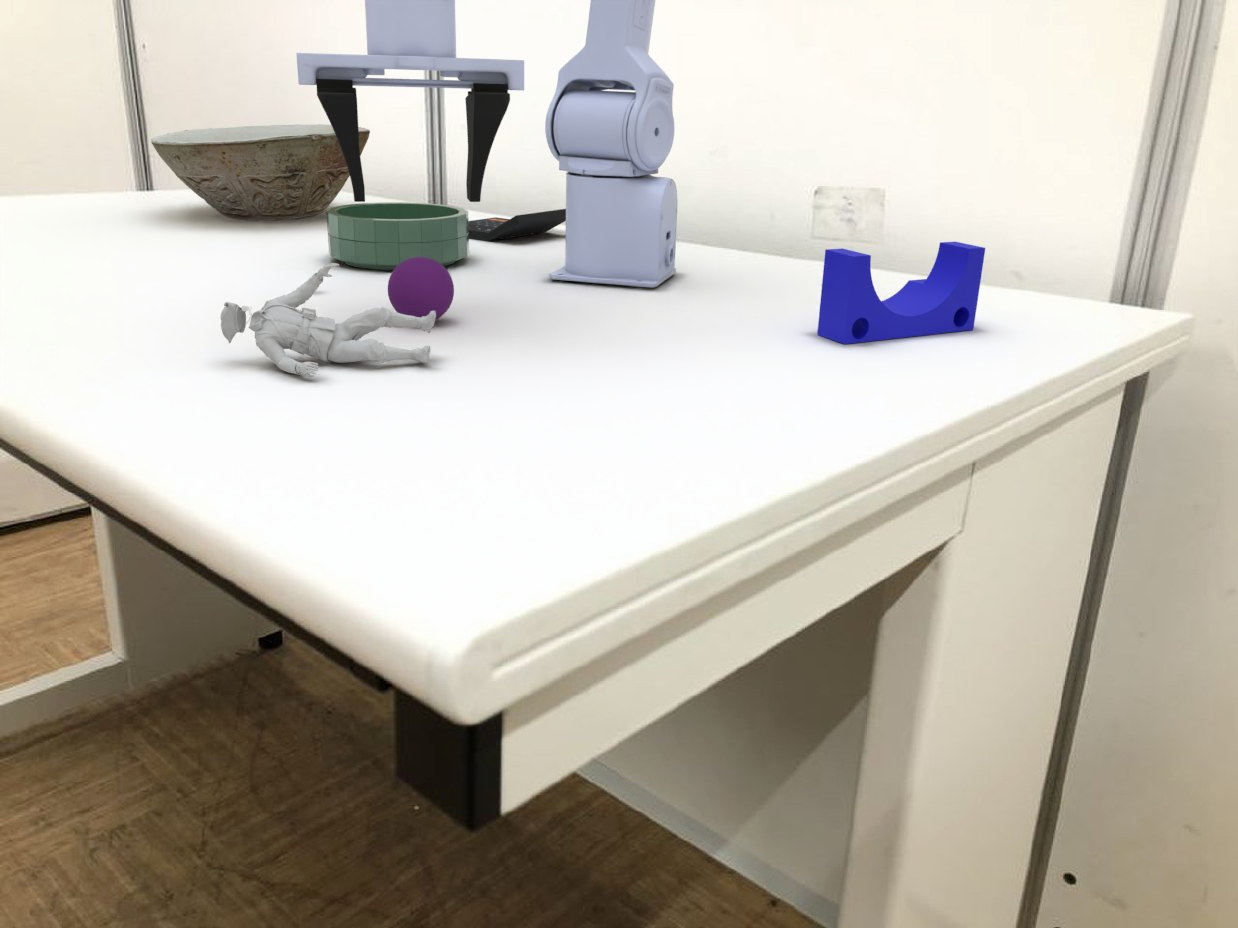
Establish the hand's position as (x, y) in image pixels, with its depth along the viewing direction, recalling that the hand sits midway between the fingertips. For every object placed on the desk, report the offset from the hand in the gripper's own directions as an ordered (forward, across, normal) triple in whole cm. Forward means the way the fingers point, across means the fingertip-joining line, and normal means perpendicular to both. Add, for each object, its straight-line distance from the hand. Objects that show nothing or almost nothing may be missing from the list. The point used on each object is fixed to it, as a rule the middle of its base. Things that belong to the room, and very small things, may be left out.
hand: (417, 200), depth 73 cm
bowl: (+9, -14, +56) cm, 59 cm away
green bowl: (+8, 0, +26) cm, 27 cm away
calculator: (+9, +12, +40) cm, 43 cm away
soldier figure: (+9, -6, -10) cm, 15 cm away
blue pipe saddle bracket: (+9, +33, -6) cm, 35 cm away
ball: (+6, 0, 0) cm, 6 cm away
